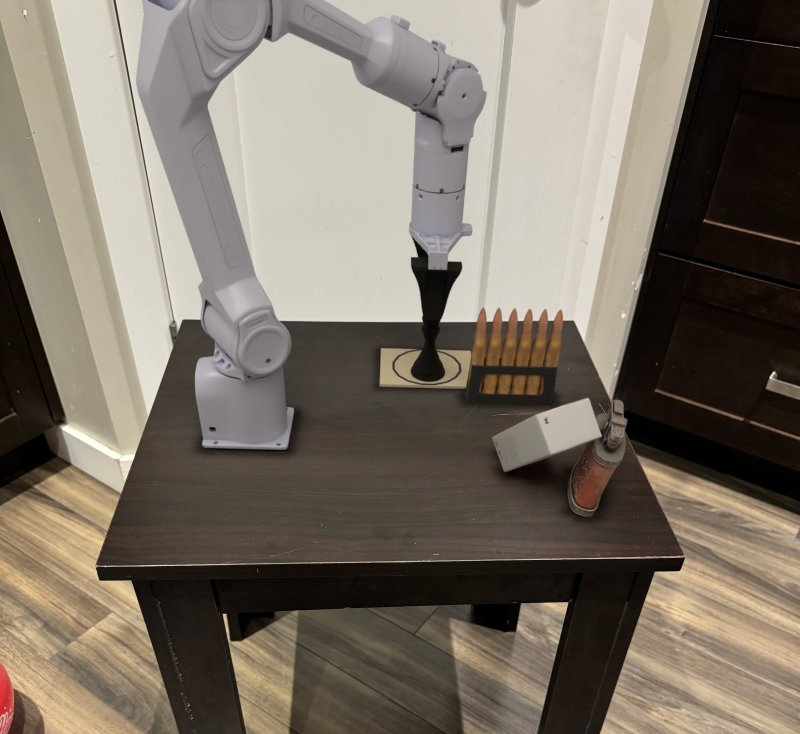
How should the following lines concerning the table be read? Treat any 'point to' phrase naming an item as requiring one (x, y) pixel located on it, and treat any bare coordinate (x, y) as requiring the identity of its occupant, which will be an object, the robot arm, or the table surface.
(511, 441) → the cosmetic box
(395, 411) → the table surface
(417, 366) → the chess piece
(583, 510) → the lighter
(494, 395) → the ammunition clip
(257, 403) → the robot arm
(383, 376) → the drawing pad
